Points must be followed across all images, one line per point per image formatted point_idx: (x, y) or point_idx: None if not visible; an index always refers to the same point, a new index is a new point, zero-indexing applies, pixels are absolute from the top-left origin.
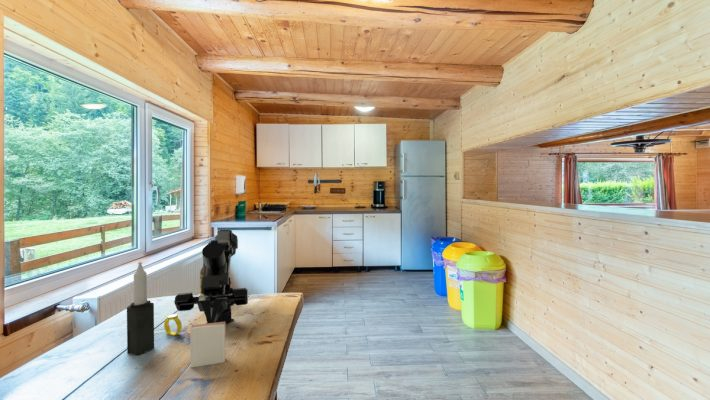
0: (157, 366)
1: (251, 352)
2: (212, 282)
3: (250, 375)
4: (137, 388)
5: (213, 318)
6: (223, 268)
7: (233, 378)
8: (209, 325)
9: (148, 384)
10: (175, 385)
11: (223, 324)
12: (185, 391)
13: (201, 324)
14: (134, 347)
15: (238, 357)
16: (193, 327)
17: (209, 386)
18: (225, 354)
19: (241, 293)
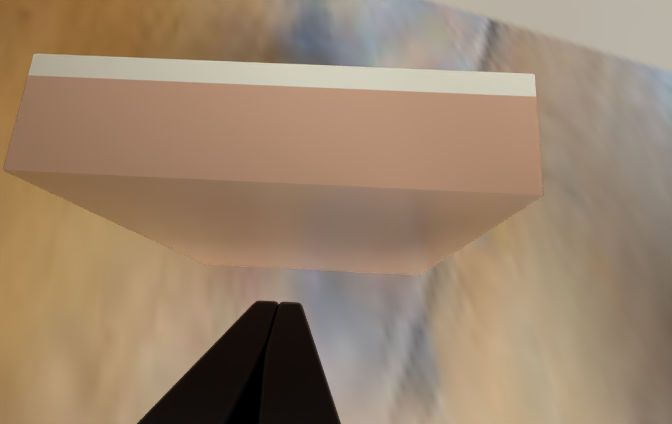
0: (646, 313)
1: (24, 281)
2: None
3: (83, 29)
4: (655, 103)
5: (195, 387)
6: None
7: (170, 31)
8: (256, 94)
9: (612, 121)
10: (461, 66)
11: (47, 59)
12: (398, 4)
13: (389, 179)
14: None
15: (120, 242)
16: (495, 99)
17: (288, 6)
18: (196, 260)
19: None
